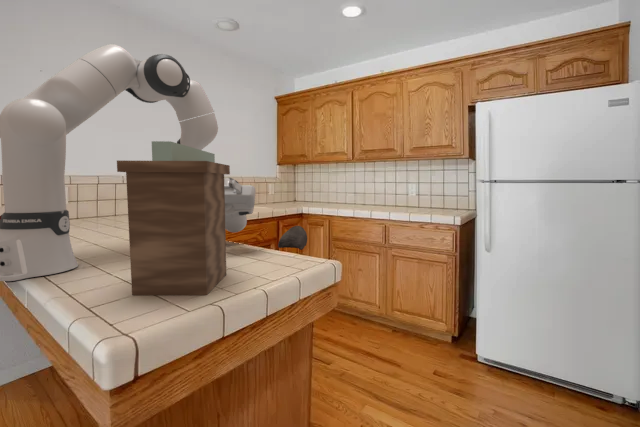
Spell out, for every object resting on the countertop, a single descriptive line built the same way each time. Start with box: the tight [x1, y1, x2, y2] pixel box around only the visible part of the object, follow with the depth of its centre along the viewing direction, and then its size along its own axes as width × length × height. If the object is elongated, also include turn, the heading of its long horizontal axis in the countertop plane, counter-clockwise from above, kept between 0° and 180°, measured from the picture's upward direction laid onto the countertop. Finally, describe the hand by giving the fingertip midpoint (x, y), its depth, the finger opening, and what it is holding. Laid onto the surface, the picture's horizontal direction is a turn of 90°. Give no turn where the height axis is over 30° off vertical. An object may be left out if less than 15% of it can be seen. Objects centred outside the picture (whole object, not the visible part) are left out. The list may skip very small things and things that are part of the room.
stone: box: [277, 225, 308, 251], centre depth 110 cm, size 10×8×10 cm
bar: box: [151, 140, 216, 163], centre depth 72 cm, size 26×3×3 cm, turn 1°
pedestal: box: [116, 160, 231, 296], centre depth 69 cm, size 16×16×25 cm
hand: (214, 181), depth 91 cm, fingers open, 8 cm apart
